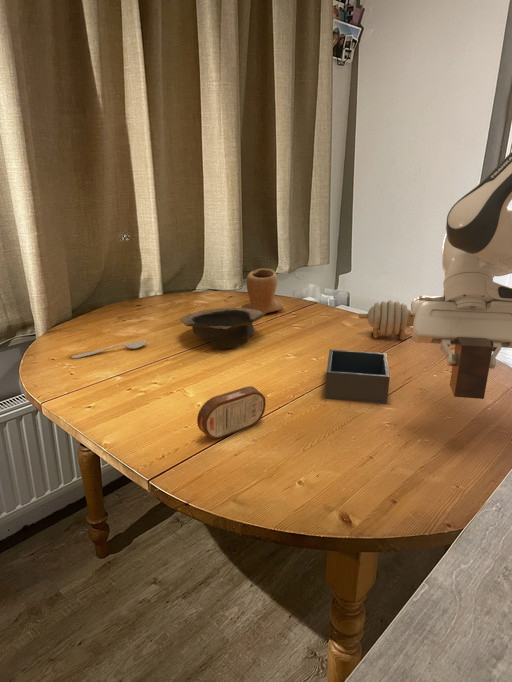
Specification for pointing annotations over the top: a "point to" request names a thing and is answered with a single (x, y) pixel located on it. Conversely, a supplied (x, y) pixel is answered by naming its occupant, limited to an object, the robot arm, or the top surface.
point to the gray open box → (357, 376)
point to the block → (471, 367)
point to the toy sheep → (389, 318)
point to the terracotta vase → (263, 291)
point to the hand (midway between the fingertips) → (471, 366)
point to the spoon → (129, 345)
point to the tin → (231, 412)
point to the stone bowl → (224, 325)
